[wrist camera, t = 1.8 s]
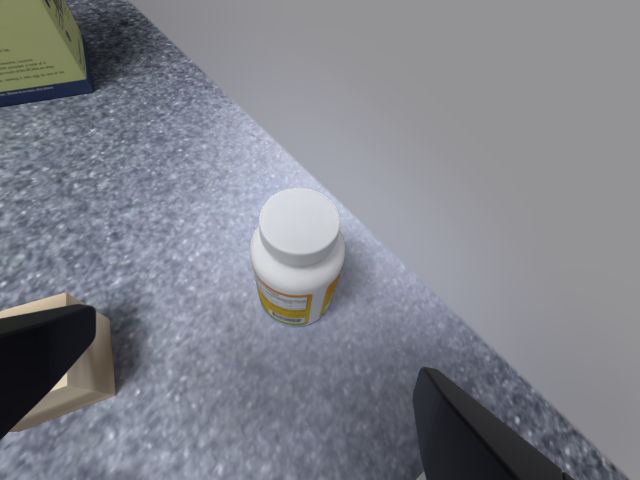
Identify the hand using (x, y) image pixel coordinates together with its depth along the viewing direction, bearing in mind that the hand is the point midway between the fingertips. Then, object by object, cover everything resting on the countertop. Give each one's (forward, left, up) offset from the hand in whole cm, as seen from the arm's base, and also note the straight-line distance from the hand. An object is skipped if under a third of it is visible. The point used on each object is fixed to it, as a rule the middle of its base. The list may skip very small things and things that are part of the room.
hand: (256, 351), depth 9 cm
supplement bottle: (+6, -4, -13) cm, 15 cm away
